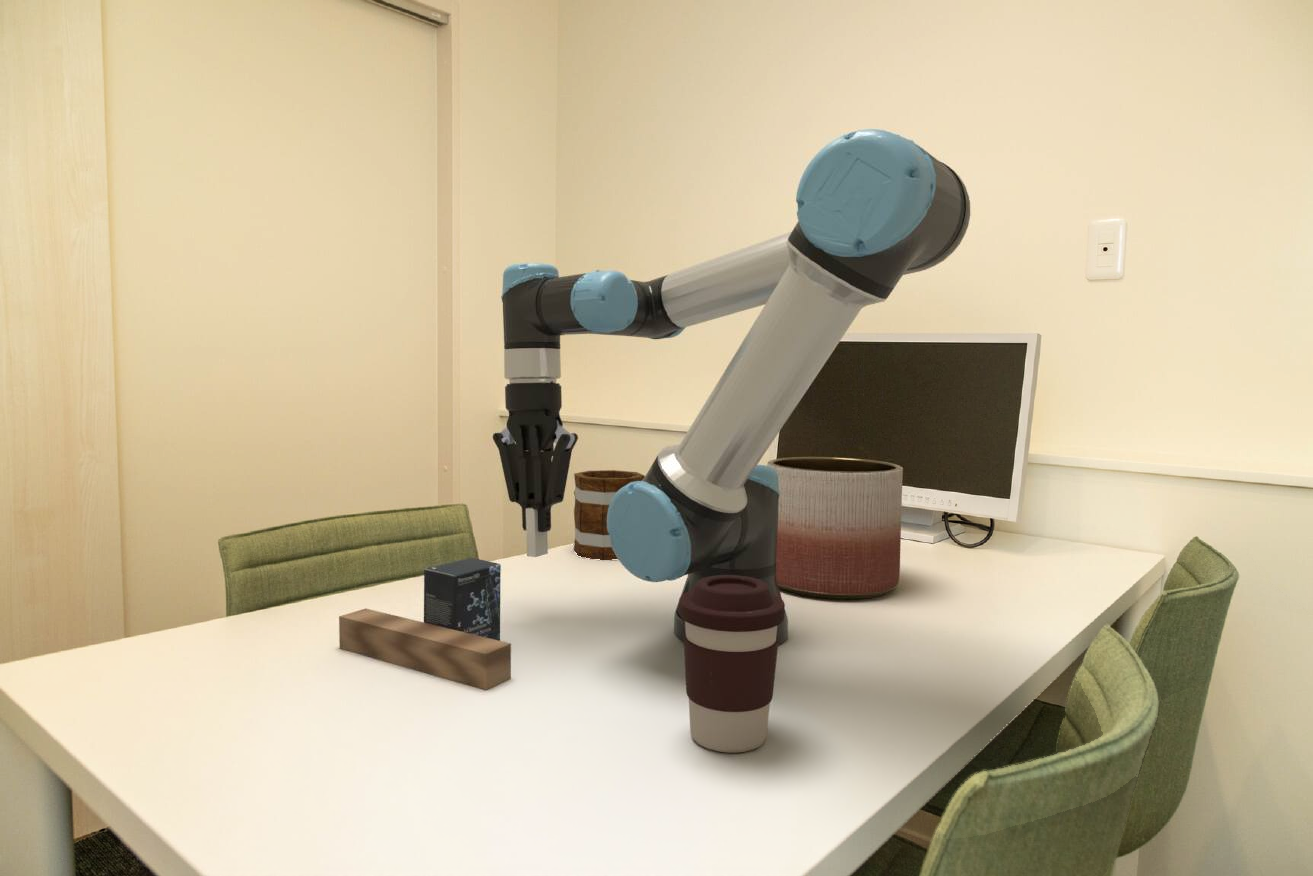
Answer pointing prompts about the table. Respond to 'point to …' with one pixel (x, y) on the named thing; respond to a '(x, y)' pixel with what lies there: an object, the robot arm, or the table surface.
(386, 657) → the brown wooden bar
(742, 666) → the coffee cup
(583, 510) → the mug
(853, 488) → the planter
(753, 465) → the robot arm
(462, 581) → the box
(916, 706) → the table surface
